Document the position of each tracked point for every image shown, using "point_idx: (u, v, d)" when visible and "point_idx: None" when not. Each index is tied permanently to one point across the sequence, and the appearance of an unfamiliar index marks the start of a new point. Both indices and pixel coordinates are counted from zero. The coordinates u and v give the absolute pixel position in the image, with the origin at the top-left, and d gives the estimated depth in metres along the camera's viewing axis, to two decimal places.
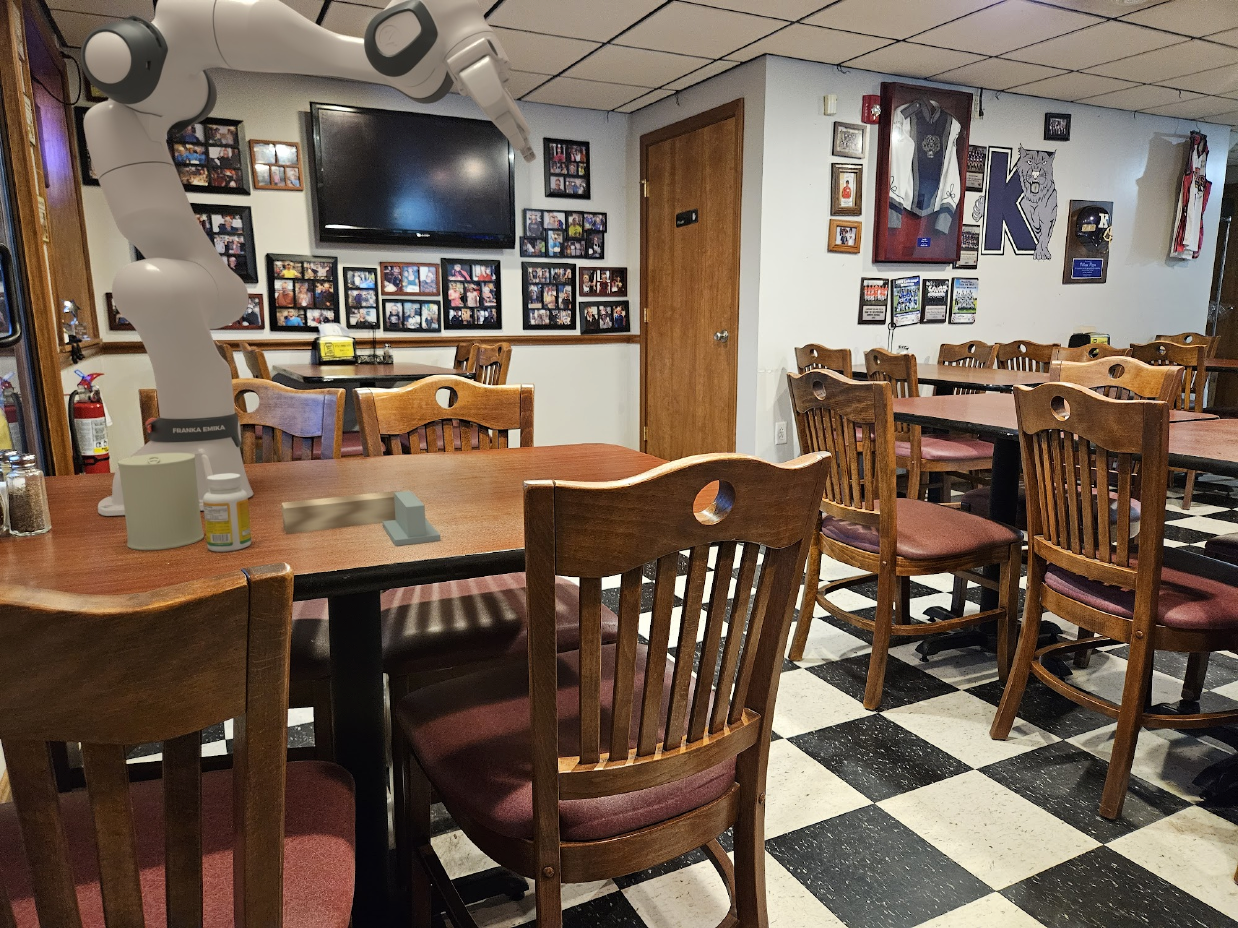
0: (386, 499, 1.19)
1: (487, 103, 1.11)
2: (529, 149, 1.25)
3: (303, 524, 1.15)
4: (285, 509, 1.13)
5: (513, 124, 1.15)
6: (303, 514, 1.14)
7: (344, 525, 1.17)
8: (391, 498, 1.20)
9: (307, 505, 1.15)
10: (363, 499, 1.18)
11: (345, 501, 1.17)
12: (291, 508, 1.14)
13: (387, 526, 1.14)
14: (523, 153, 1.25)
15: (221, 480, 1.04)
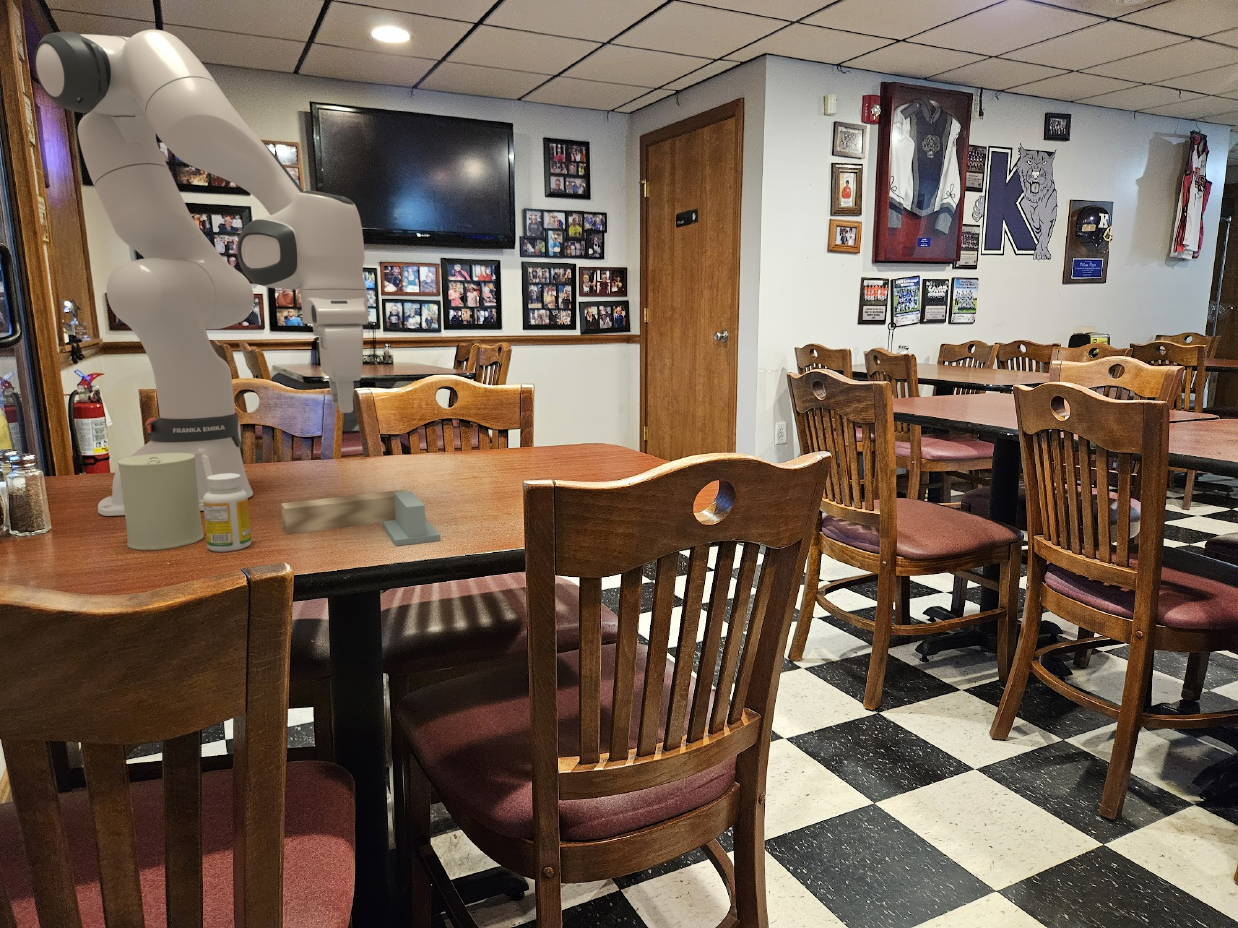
0: (386, 499, 1.20)
1: (341, 372, 1.06)
2: None
3: (304, 525, 1.14)
4: (286, 509, 1.13)
5: (352, 392, 1.11)
6: (304, 514, 1.14)
7: (345, 525, 1.17)
8: (391, 498, 1.20)
9: (308, 505, 1.15)
10: (363, 499, 1.18)
11: (346, 501, 1.17)
12: (292, 508, 1.13)
13: (387, 526, 1.14)
14: (335, 397, 1.20)
15: (221, 480, 1.04)
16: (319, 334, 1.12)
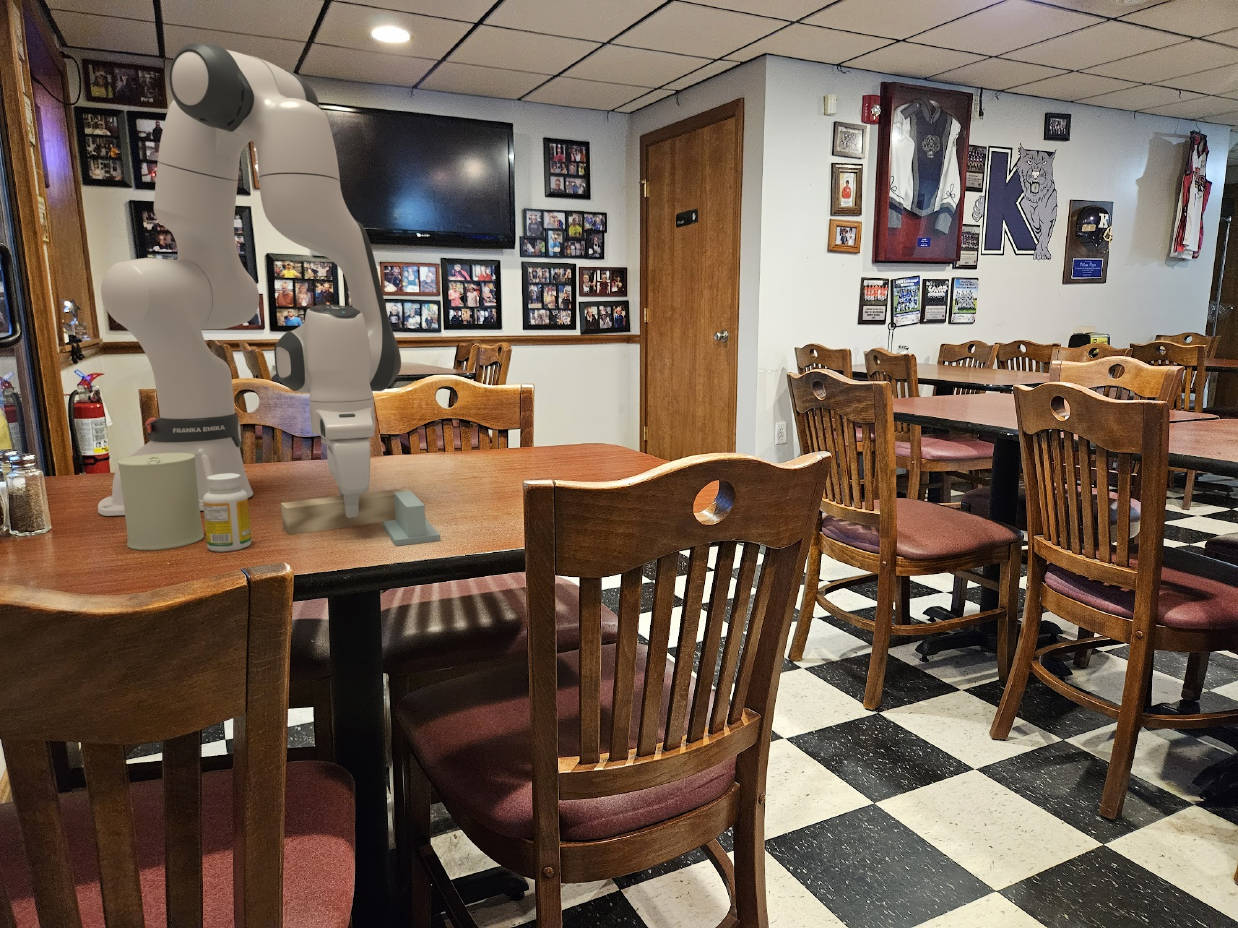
0: (386, 498, 1.20)
1: (349, 486, 1.09)
2: None
3: (305, 524, 1.14)
4: (287, 509, 1.13)
5: (357, 498, 1.15)
6: (305, 513, 1.14)
7: (345, 524, 1.17)
8: (391, 496, 1.20)
9: (309, 505, 1.15)
10: (364, 498, 1.19)
11: None
12: (293, 508, 1.13)
13: (387, 526, 1.14)
14: None
15: (221, 480, 1.04)
16: (327, 443, 1.15)
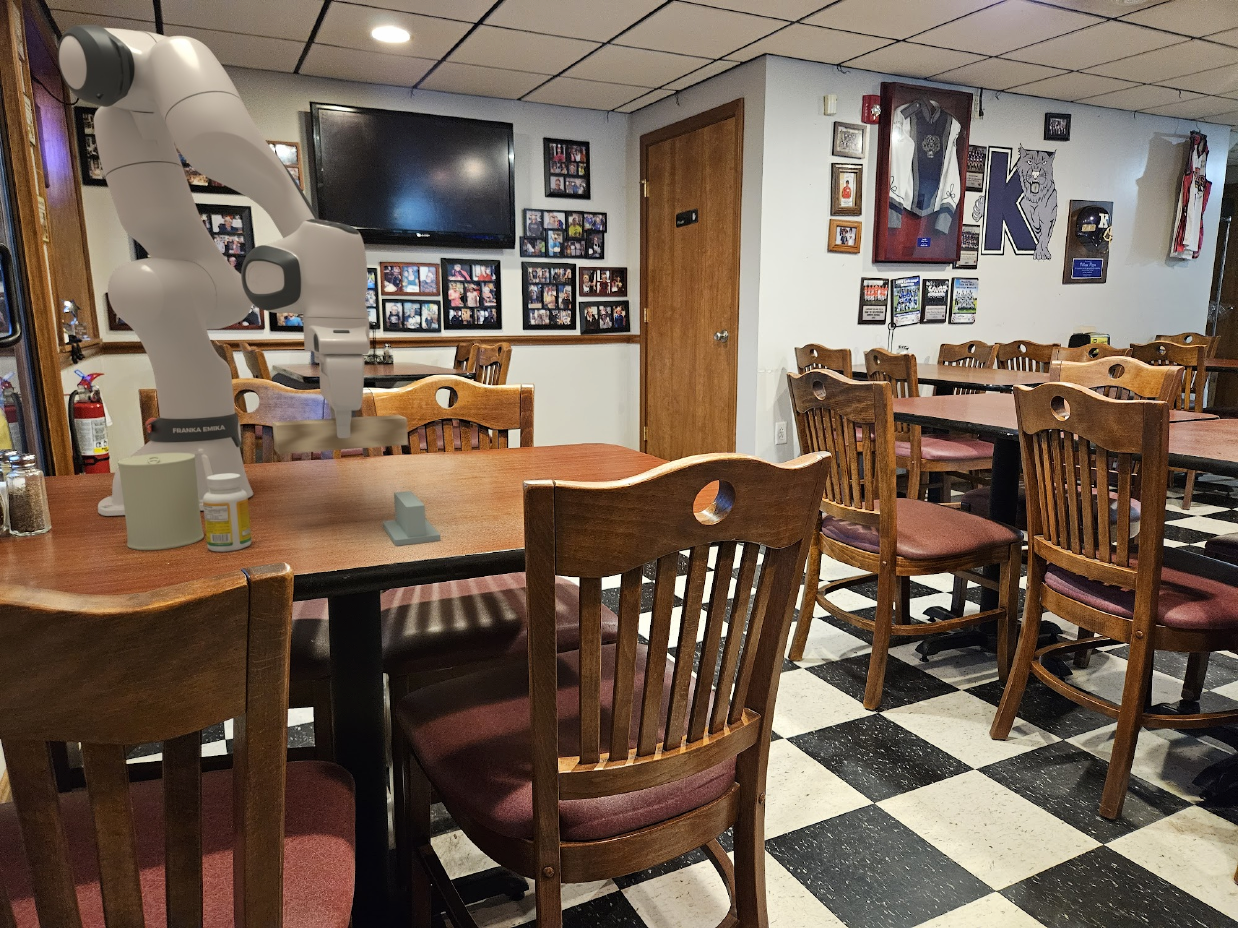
0: (380, 421, 1.18)
1: (341, 402, 1.07)
2: None
3: (296, 443, 1.13)
4: (278, 426, 1.11)
5: (349, 418, 1.13)
6: (296, 432, 1.12)
7: (337, 446, 1.15)
8: (385, 420, 1.18)
9: (300, 423, 1.13)
10: (356, 420, 1.17)
11: None
12: (284, 425, 1.11)
13: (387, 526, 1.14)
14: None
15: (221, 480, 1.04)
16: (320, 361, 1.13)
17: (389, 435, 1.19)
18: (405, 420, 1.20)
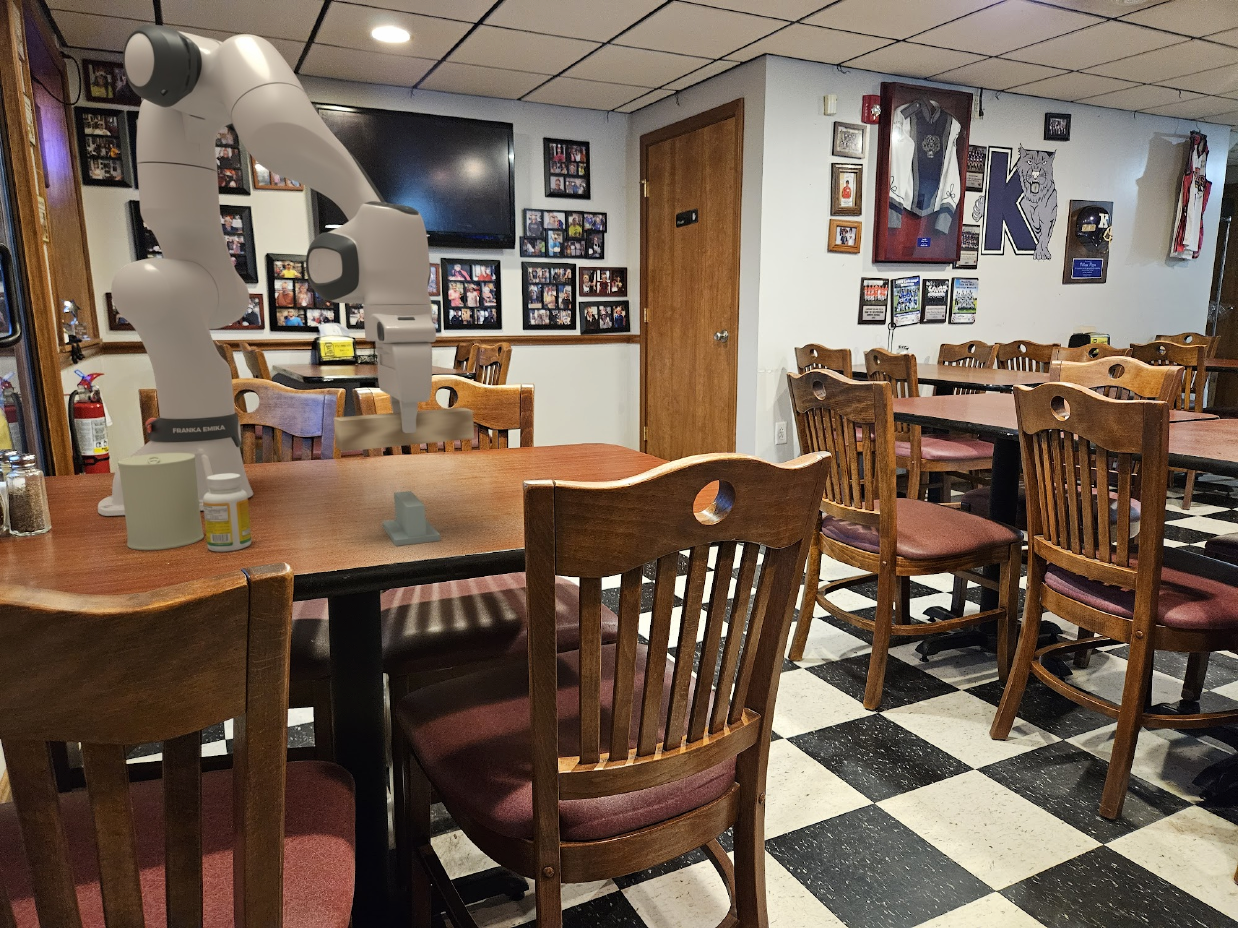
0: (445, 414, 1.11)
1: (410, 393, 1.00)
2: None
3: (360, 439, 1.06)
4: (341, 422, 1.04)
5: (415, 411, 1.07)
6: (360, 427, 1.06)
7: (402, 441, 1.09)
8: (450, 413, 1.12)
9: (363, 418, 1.06)
10: (421, 414, 1.10)
11: None
12: (347, 421, 1.05)
13: (387, 526, 1.14)
14: None
15: (221, 480, 1.04)
16: (383, 352, 1.06)
17: (455, 429, 1.12)
18: (471, 412, 1.13)
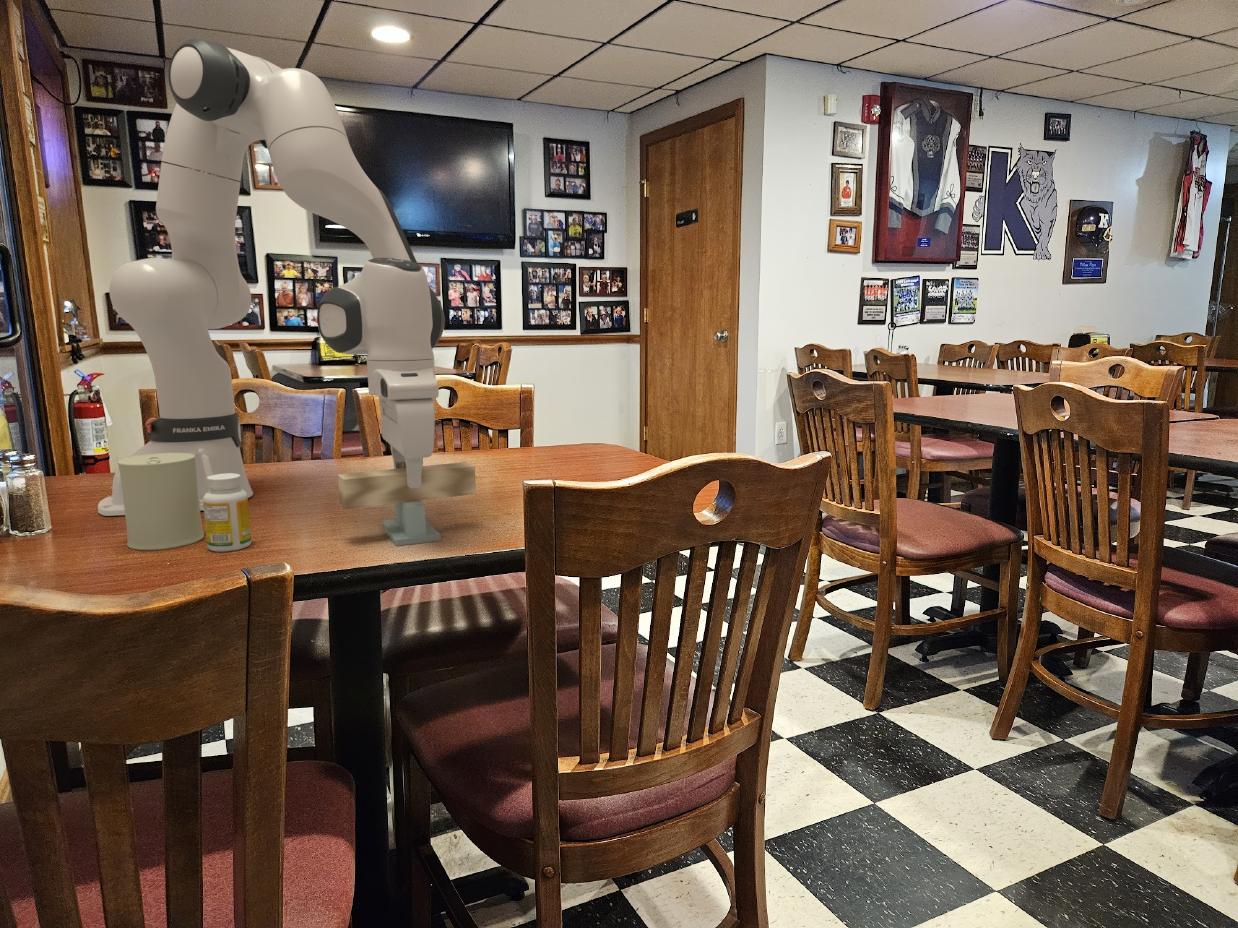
0: (447, 471, 1.13)
1: (413, 450, 1.02)
2: (405, 465, 1.16)
3: (363, 497, 1.07)
4: (344, 480, 1.06)
5: (421, 467, 1.06)
6: (363, 485, 1.07)
7: (405, 498, 1.10)
8: (452, 469, 1.13)
9: (367, 476, 1.08)
10: (424, 470, 1.12)
11: (405, 472, 1.10)
12: (350, 479, 1.06)
13: (387, 526, 1.14)
14: (398, 466, 1.15)
15: (221, 480, 1.04)
16: (386, 406, 1.07)
17: (457, 485, 1.14)
18: (473, 468, 1.14)
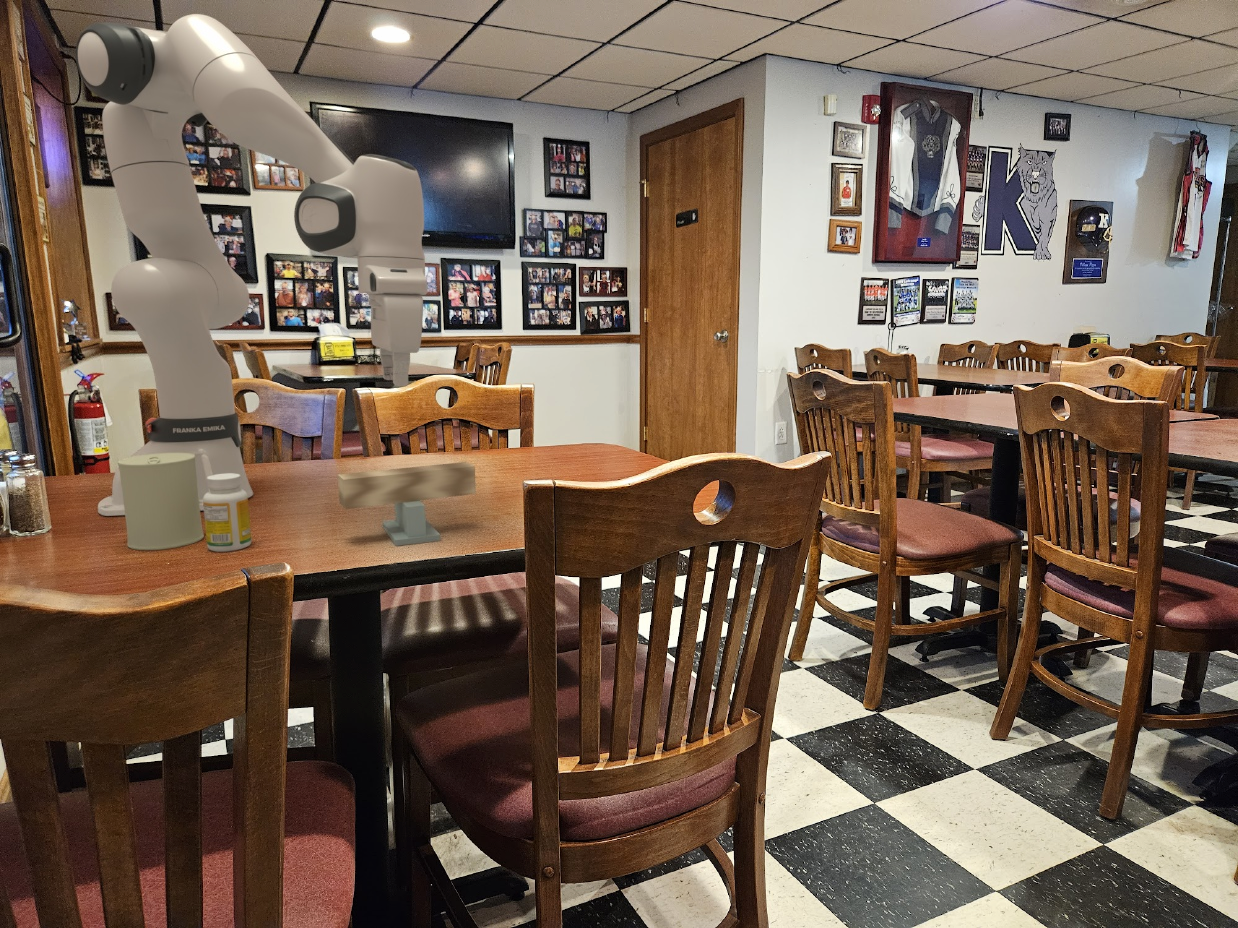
0: (447, 471, 1.13)
1: (400, 343, 1.02)
2: None
3: (363, 497, 1.07)
4: (344, 480, 1.06)
5: (408, 365, 1.07)
6: (363, 485, 1.07)
7: (405, 498, 1.10)
8: (452, 469, 1.13)
9: (367, 476, 1.08)
10: (424, 470, 1.12)
11: (405, 472, 1.10)
12: (350, 479, 1.06)
13: (387, 526, 1.14)
14: (386, 370, 1.16)
15: (221, 480, 1.04)
16: (375, 304, 1.08)
17: (457, 485, 1.14)
18: (473, 468, 1.14)
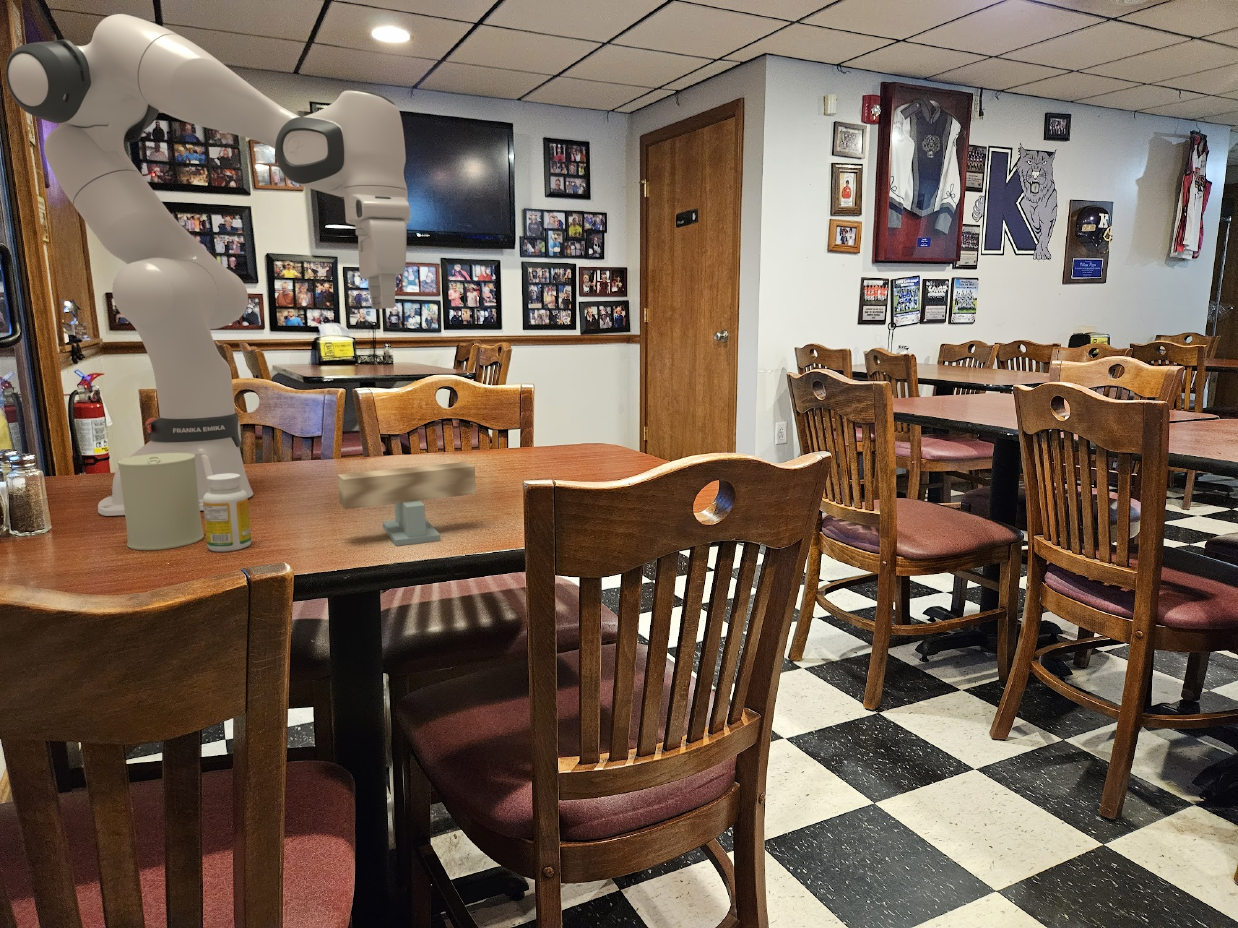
0: (447, 471, 1.13)
1: (386, 264, 1.09)
2: None
3: (363, 497, 1.07)
4: (344, 480, 1.06)
5: (394, 287, 1.14)
6: (363, 485, 1.07)
7: (405, 498, 1.10)
8: (452, 469, 1.13)
9: (367, 476, 1.08)
10: (424, 470, 1.12)
11: (405, 472, 1.10)
12: (350, 479, 1.06)
13: (387, 526, 1.14)
14: (374, 300, 1.22)
15: (221, 480, 1.04)
16: (362, 232, 1.15)
17: (457, 485, 1.14)
18: (473, 468, 1.14)
